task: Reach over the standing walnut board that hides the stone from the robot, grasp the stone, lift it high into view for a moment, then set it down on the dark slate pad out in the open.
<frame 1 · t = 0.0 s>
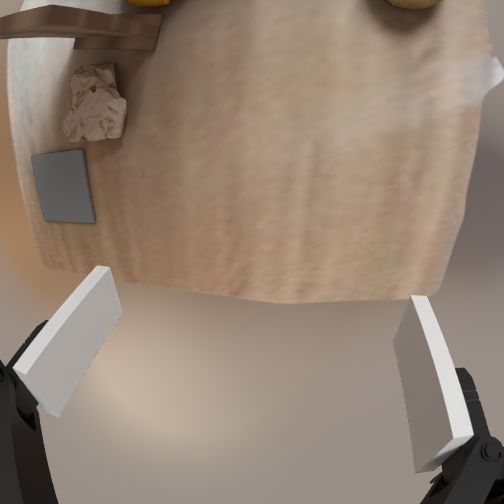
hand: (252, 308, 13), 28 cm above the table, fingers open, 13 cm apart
board: (116, 31, 31), on the table
stone: (102, 105, 37), on the table
pad: (62, 187, 44), on the table
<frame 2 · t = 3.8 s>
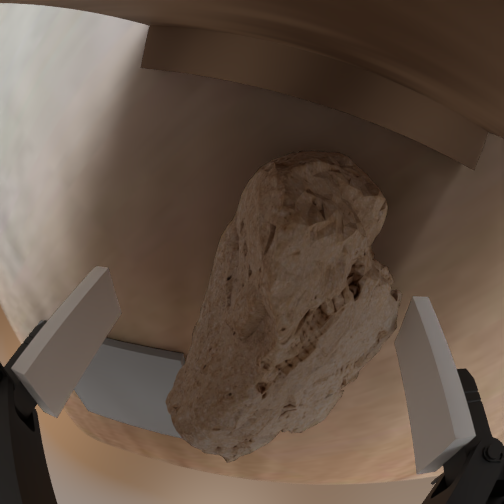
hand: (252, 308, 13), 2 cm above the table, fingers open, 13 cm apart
board: (335, 41, 9), on the table
stone: (258, 295, 13), point 2 cm above the table, touching gripper
pad: (124, 387, 22), on the table
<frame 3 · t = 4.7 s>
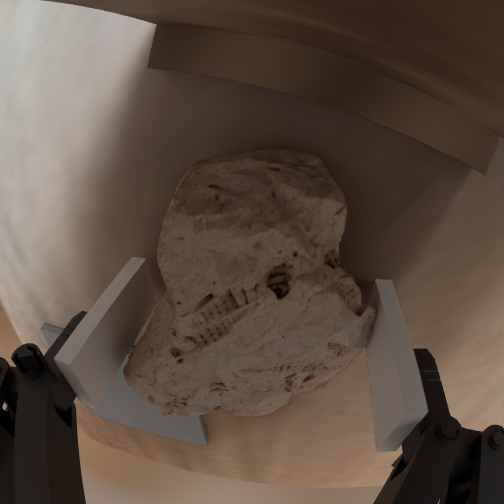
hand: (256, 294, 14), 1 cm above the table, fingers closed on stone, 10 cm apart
board: (346, 42, 9), on the table
stone: (237, 279, 14), on the table, touching gripper
pad: (128, 391, 22), on the table
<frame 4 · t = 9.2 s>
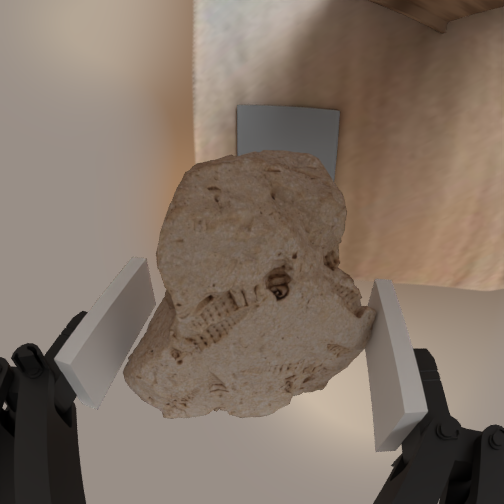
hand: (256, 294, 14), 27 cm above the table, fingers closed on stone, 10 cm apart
stone: (237, 280, 14), point 27 cm above the table, touching gripper
pad: (286, 154, 37), on the table
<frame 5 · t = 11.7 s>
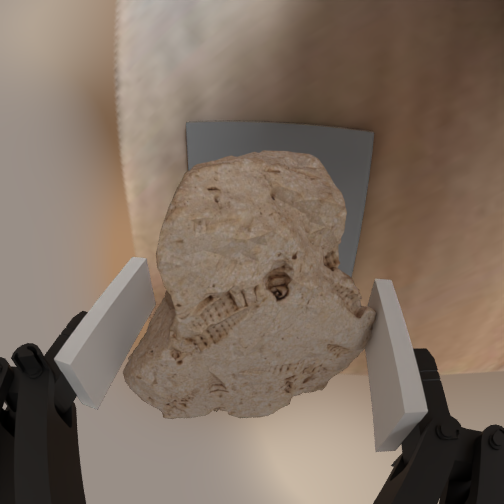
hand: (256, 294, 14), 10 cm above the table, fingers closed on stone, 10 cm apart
stone: (237, 281, 14), point 9 cm above the table, touching gripper
pad: (276, 208, 22), on the table
when the fingers open (3 cm above the table, at t = 13.9 s): stone drops 2 cm, resting on pad.
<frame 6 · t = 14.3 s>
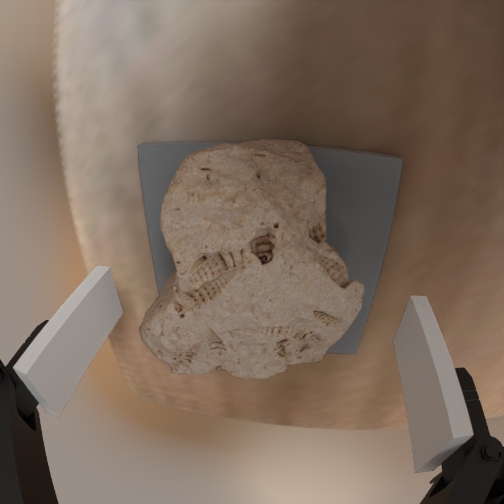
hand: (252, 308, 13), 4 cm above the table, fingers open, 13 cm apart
stone: (245, 255, 16), resting on pad
pad: (264, 259, 16), on the table
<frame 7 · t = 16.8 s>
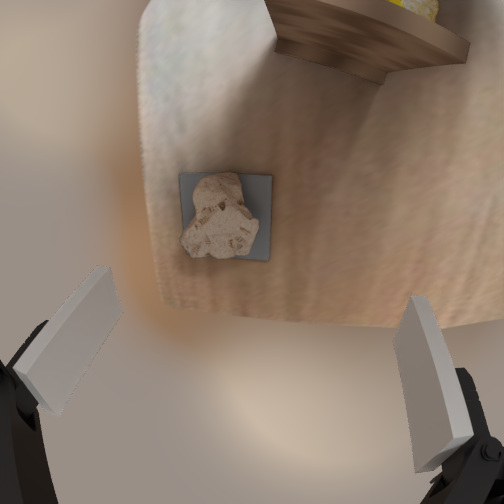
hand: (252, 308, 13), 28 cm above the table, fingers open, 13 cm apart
board: (334, 48, 30), on the table
stone: (219, 213, 42), resting on pad
pad: (226, 216, 42), on the table
fruit: (390, 3, 26), on the table
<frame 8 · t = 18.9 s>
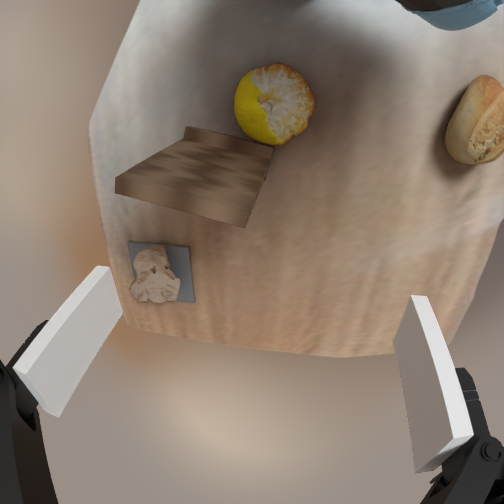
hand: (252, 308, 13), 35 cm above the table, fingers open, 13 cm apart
bread roll: (470, 117, 35), on the table
board: (226, 151, 44), on the table
stone: (157, 270, 57), resting on pad
pad: (162, 271, 58), on the table
fruit: (276, 102, 40), on the table
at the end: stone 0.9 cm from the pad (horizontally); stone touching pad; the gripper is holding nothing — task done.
